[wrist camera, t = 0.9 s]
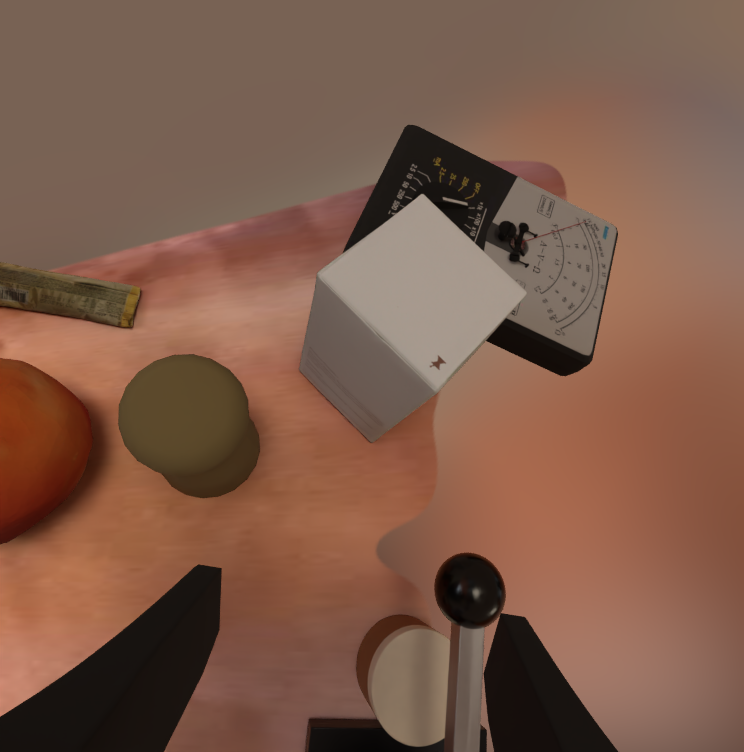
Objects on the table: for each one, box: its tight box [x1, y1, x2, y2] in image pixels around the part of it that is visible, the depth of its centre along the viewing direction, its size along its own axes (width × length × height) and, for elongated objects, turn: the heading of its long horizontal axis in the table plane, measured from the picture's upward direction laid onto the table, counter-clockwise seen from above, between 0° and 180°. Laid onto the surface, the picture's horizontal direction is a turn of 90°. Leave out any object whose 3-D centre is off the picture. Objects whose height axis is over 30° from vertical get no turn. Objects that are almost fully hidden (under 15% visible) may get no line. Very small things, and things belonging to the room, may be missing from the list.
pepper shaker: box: [118, 354, 260, 498], centre depth 23 cm, size 6×6×11 cm
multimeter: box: [343, 125, 618, 376], centre depth 35 cm, size 13×19×5 cm
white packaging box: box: [299, 194, 527, 443], centre depth 26 cm, size 7×7×13 cm
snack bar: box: [0, 262, 140, 327], centre depth 28 cm, size 10×2×3 cm
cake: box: [356, 615, 450, 747], centre depth 25 cm, size 5×5×4 cm
